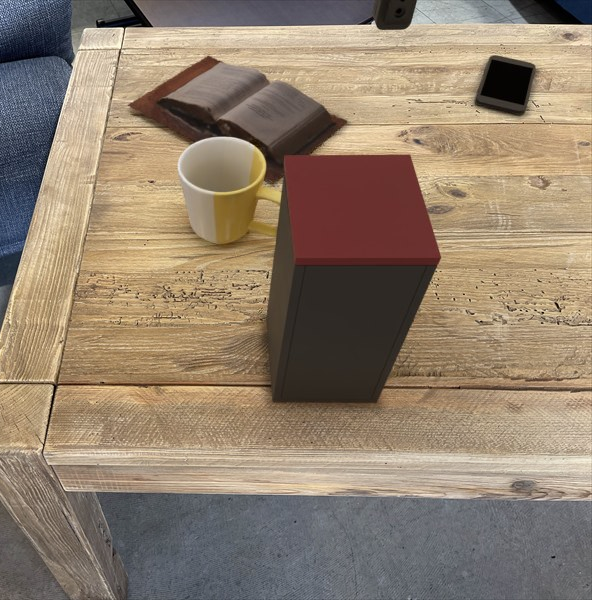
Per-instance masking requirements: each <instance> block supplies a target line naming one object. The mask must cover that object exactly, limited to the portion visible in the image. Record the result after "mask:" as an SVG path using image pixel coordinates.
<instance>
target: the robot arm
mask: <svg viewBox="0 0 592 600" xmlns="http://www.w3.org/2000/svg"><path fill="white" fill-rule="evenodd" d="M417 2H418V0H374V3H373V8H372V12H371V13H372V18H373V20H374V23H375V26H376V28H377V30H380V31H404V30H406V29H408V28H409V27H410V26H411V24H412V21H413V17H414V13H415V10H416V7H417Z"/></svg>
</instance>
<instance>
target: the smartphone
mask: <svg viewBox="0 0 592 600" xmlns="http://www.w3.org/2000/svg"><path fill="white" fill-rule="evenodd" d="M536 67H537V65H535V64H534V63H533V62H529V61H525V60H520V59H516V58H511V57H508V56H502V55H496V54H493V55H491V56H489V58H488V60H487V62H486V66H485V69H484V72H483V74H482V78H481V80H480V83H479V87H478V89H477V92H476V96H475V99H474V100H475V101H474V102H475V103H476V104H477V105H480V106H483V107H487V108H490V109H495V110H499V111H503V112H507V113H512V114H517V115H523V114H525V112H526V111H527V107H528V104H529V100H530V96H531V90H532V86H533V82H534V77H535V73H536Z"/></svg>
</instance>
